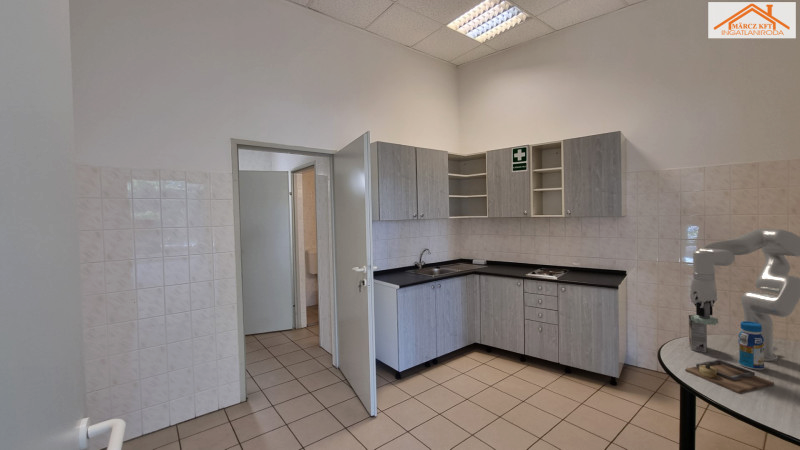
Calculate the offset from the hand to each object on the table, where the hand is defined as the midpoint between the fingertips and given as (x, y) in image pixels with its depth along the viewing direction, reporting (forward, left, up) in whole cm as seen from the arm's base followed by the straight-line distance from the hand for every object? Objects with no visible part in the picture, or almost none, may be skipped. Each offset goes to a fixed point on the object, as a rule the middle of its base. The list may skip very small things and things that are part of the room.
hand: (704, 314), depth 160 cm
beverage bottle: (-15, +9, -23) cm, 29 cm away
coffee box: (-14, -13, -24) cm, 31 cm away
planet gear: (0, 0, -3) cm, 3 cm away
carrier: (+6, +13, -23) cm, 27 cm away
